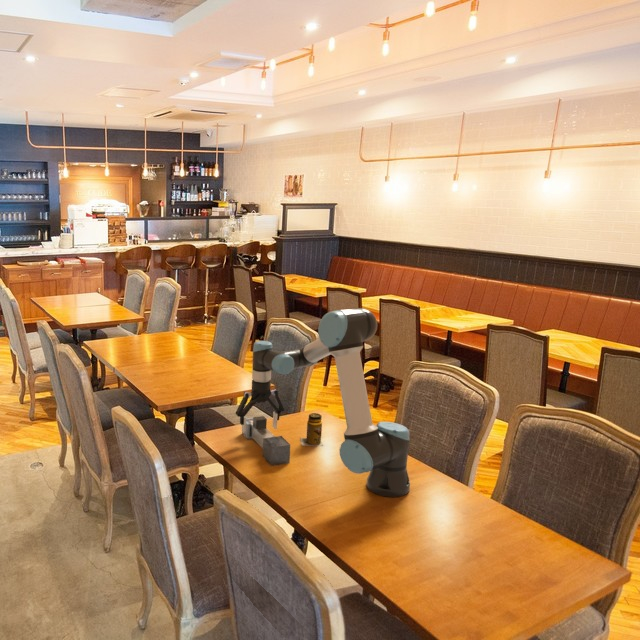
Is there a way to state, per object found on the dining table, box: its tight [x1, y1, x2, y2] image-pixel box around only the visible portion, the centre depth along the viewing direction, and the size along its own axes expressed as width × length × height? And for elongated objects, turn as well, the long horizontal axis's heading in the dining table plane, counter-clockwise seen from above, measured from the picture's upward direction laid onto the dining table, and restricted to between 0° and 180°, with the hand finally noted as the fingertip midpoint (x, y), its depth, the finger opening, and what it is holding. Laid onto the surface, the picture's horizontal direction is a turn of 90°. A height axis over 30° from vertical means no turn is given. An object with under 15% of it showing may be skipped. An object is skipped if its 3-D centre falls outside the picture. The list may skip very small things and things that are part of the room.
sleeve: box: [262, 435, 291, 467], centre depth 225 cm, size 9×8×7 cm
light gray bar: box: [248, 415, 276, 450], centre depth 238 cm, size 22×4×9 cm, turn 26°
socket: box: [241, 417, 253, 440], centre depth 247 cm, size 6×8×6 cm
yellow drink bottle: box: [300, 412, 324, 447], centre depth 243 cm, size 7×8×12 cm
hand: (259, 429), depth 241 cm, fingers open, 13 cm apart
